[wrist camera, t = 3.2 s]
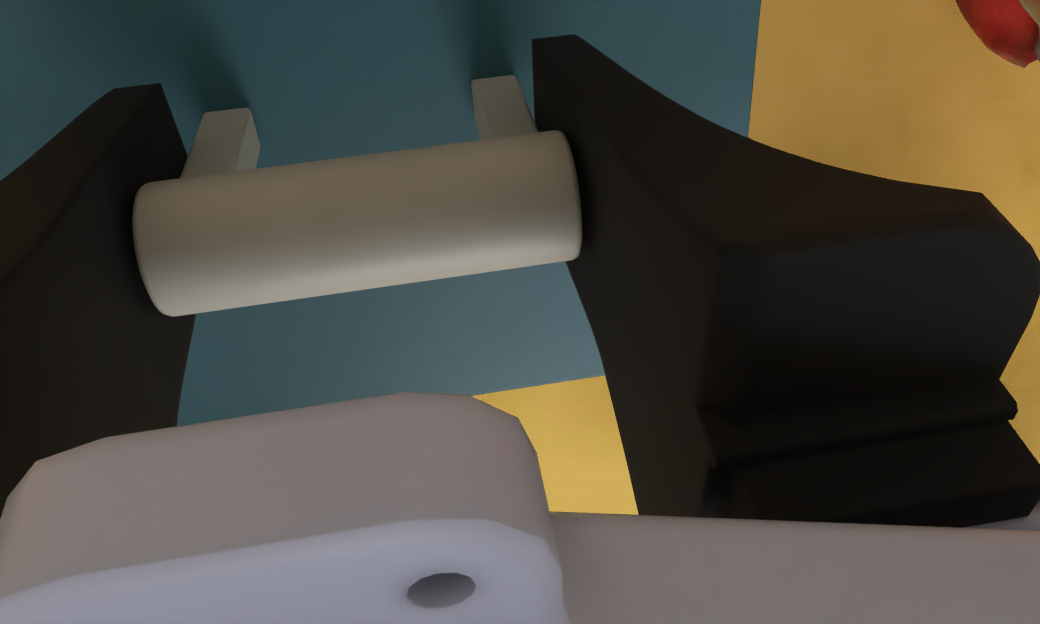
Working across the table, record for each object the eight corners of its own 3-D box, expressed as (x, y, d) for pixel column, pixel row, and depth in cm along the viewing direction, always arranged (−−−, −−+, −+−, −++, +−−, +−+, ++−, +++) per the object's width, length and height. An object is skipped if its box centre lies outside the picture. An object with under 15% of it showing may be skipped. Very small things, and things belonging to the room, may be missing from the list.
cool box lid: (716, 336, 18) (818, 518, 14) (100, 430, 17) (19, 655, 13) (787, -515, 10) (1061, -653, 6) (-330, -442, 9) (-854, -551, 5)
